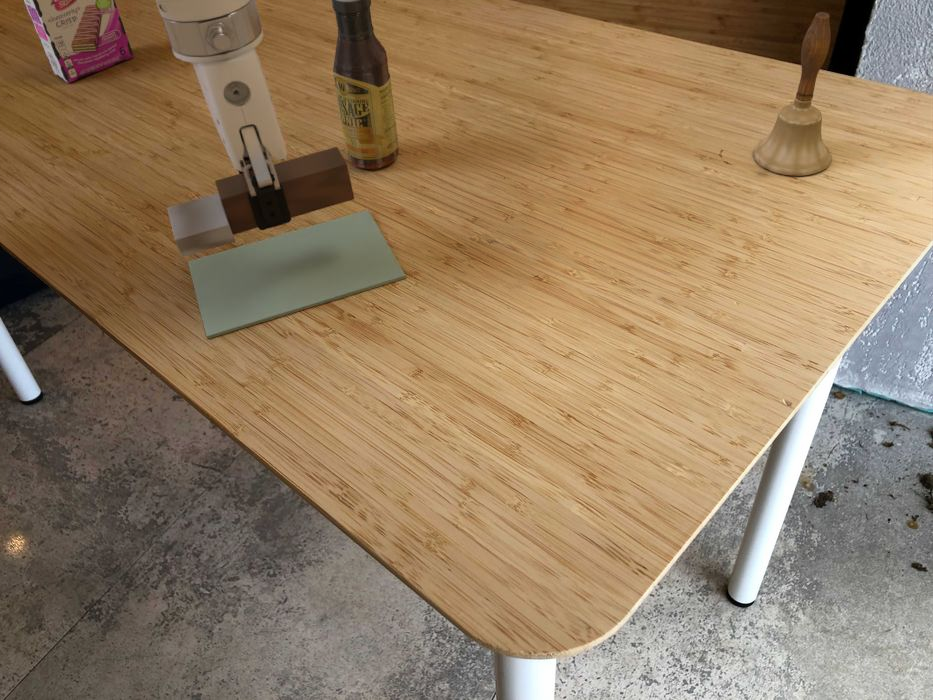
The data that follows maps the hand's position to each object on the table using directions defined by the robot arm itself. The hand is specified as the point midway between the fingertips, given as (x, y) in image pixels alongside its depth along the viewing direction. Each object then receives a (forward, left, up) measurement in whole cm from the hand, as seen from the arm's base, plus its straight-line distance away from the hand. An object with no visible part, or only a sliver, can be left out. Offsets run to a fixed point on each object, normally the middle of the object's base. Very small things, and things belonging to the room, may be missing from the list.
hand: (269, 211), depth 82 cm
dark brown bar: (0, 0, 0) cm, 1 cm away
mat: (+1, 0, -8) cm, 8 cm away
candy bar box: (-15, +64, -8) cm, 66 cm away
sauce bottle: (+15, +17, -8) cm, 24 cm away
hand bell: (+57, -6, -8) cm, 58 cm away
